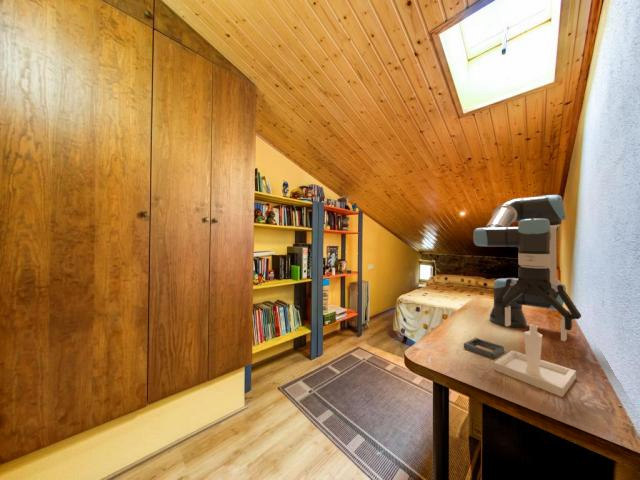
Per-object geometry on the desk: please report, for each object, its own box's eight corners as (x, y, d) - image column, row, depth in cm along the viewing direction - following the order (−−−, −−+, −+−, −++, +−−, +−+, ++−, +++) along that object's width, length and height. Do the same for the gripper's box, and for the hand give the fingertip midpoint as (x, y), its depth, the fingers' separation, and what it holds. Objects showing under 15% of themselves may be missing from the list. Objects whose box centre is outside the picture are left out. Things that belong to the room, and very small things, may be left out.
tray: (512, 356, 85) (512, 350, 85) (575, 378, 72) (575, 370, 72) (493, 369, 76) (493, 362, 76) (562, 397, 63) (562, 388, 63)
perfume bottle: (548, 377, 71) (547, 328, 71) (531, 375, 72) (531, 327, 72) (536, 369, 76) (536, 323, 76) (521, 367, 76) (521, 322, 76)
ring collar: (475, 342, 97) (475, 337, 97) (504, 351, 89) (504, 346, 89) (463, 348, 92) (463, 343, 92) (493, 359, 83) (493, 353, 83)
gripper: (484, 264, 83) (484, 322, 83) (590, 272, 62) (590, 350, 62) (493, 262, 87) (493, 318, 87) (595, 270, 66) (595, 343, 66)
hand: (533, 332), depth 74 cm, fingers open, 13 cm apart
